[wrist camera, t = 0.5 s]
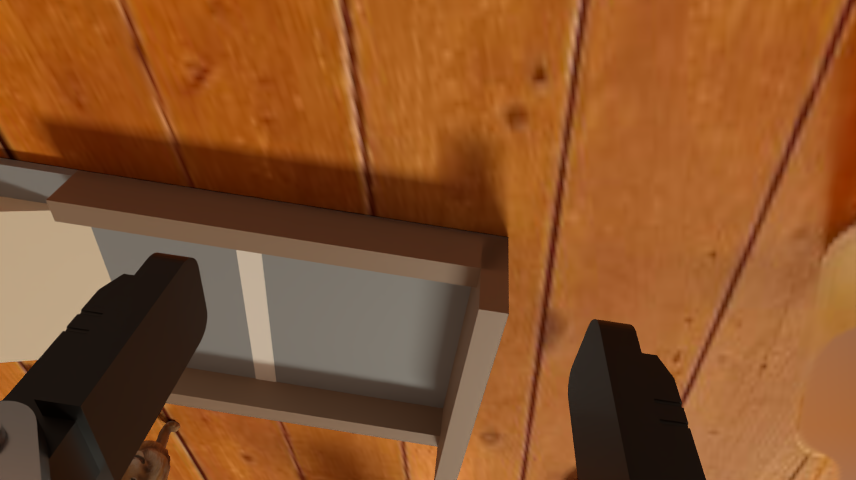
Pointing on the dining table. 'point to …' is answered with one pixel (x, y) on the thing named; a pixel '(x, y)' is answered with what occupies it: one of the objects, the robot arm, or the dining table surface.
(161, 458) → the lion figurine
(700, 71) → the dining table surface
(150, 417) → the robot arm
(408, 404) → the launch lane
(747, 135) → the dining table surface
